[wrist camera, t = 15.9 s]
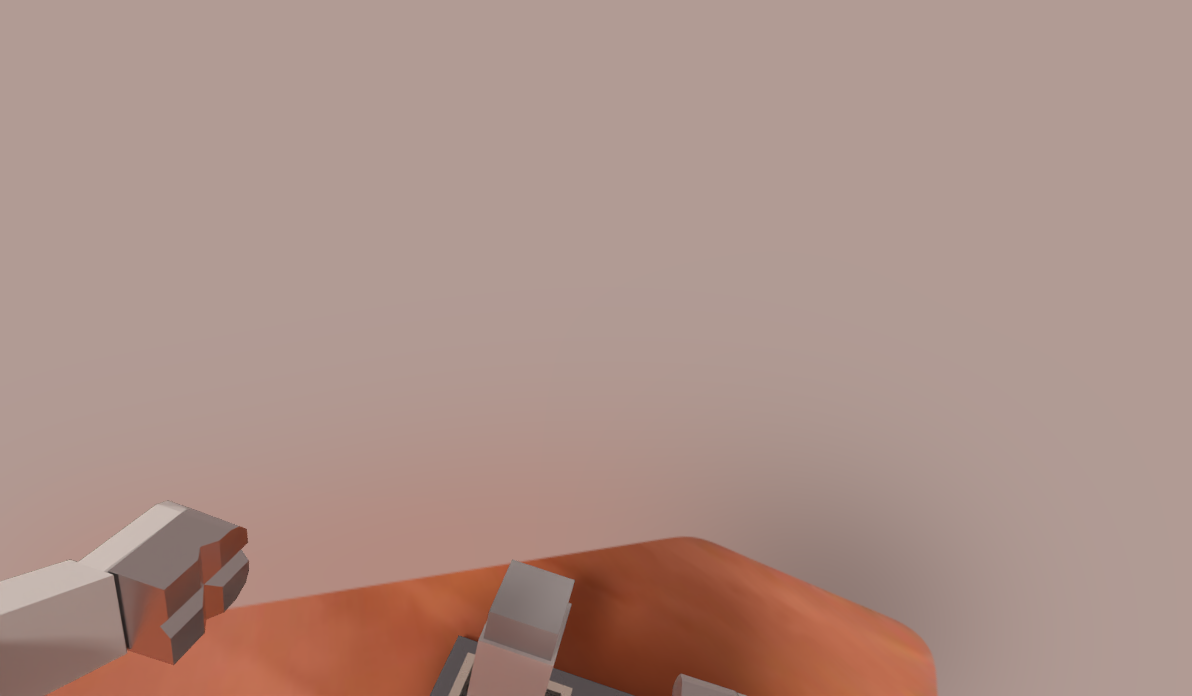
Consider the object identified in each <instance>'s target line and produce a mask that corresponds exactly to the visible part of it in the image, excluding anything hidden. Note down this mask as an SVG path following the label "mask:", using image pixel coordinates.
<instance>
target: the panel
mask: <svg viewBox="0 0 1192 696" xmlns="http://www.w3.org/2000/svg"><path fill="white" fill-rule="evenodd" d="M477 644H478V642H476V641H473V640H470V639H467V638H465V637H462V636H458V638H457V640H456V642H455V644H454V646H453V649H452V651H451V653H450V655H449V657H448V659H447V661H446V663H445V665H444V667H443V669H442V671H441V673H440V676H439V678H438V680H437V682H436V684H435V686H434V688H433V690H432V692H431V694H430V696H467V692H468V687H469V683H470V678H471V673H472V668H473V663H474V658H475V654H476V649H477ZM545 696H634V695H631V694H628V693H625V692H622V691H619V690H616V689H613V688H611V687H608V686H605V685H602V684H599V683H596V682H593V681H590V680H587V679H584V678H581V677H578V676H576V675H573V674H570V673H567V672H564V671H561V670H558V669H555V668H553V669H552V673H551V676H550V679H549V683H548V686H547V690H546V693H545Z"/></svg>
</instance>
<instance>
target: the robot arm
mask: <svg viewBox="0 0 1192 696" xmlns="http://www.w3.org/2000/svg"><path fill="white" fill-rule="evenodd" d="M247 543H248V538H247V529H245V528H243V527H240V526H237V525H235V524H232V523H229V522H226V521H224V520H221V519H218V518H216V517H213V516H210V515H207V514H205V513H202V512H199V511H197V510H194V509H191V508H188V507H186V506H183V505H180V504H177V503H174V502H171V501H165V502H162V503H159V504H156V505H155V506H153V507H152V508H151V509H149V510H148V511H146V512H145V513H144V514H142V515H141V516H140V517H138V518H137V519H136V520H134V521H133V522H132V523H130V524H129V525H127V526H126V527H125V528H123V529H122V530H121V531H119V532H118V533H117V534H115V535H114V536H112V537H111V538H110V539H108V540H107V541H106V542H104V543H103V544H102V545H100V546H99V547H98V548H96V549H95V550H94V551H92V552H91V553H89V554H88V555H87V556H85V557H84V558H83V559H81V560H80V561H79V562H77V561H74V560H67V561H64V562H61V563H57V564H54V565H51V566H48V567H45V568H41V569H38V570H35V571H31V572H28V573H25V574H22V575H19V576H15V577H12V578H9V579H6V580H3V581H0V696H45V695H47V694H49V693H51V692H53V691H55V690H56V689H58V688H60V687H62V686H64V685H66V684H68V683H70V682H72V681H74V680H76V679H78V678H80V677H82V676H84V675H86V674H88V673H90V672H92V671H94V670H96V669H97V668H99V667H101V666H103V665H105V664H107V663H109V662H111V661H113V660H115V659H117V658H119V657H121V656H123V655H125V654H126V653H127V650H129V651H132V652H135V653H138V654H141V655H144V656H147V657H150V658H153V659H156V660H159V661H162V662H166V663H169V664H172V665H174V664H175V663H176V662H177V661H178V660H179V659H180V658H181V657H182V656H183V655H184V654H185V653H186V652H187V651H188V650H189V649H190V648H191V646H192V645H193V644H194V643H195V642H196V641H197V640H198V639H199V638H200V637H201V636H202V635H203V634H204V633H205V626H206V620H207V619H209V618H211V617H214V616H216V615H218V614H221V613H223V612H225V611H226V609H227V608H228V607H229V606H230V605H231V604H232V603H233V601H235V600H236V598H237V596H238V595H239V593H240V591H241V589H242V588H243V586H244V584H245V583H246V579H247V575H248V571H249V561H248V559H247V557H246V556H245V554H244V553H243V551H242V550H241V549H242V548H243V547H244V546H245V545H246V544H247ZM672 696H746V695H743V694H740V693H736V692H735V691H734V690H731V689H728V688H724V687H721V686H718V685H715V684H712V683H709V682H706V681H703V680H699V679H696V678H693V677H690V676H687V675H684V674H680V675H679V676H678V677H677V678H676V681H675V683H674V685H673V690H672Z"/></svg>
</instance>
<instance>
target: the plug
mask: <svg viewBox="0 0 1192 696" xmlns="http://www.w3.org/2000/svg"><path fill="white" fill-rule="evenodd" d="M574 582H575V580H573V579H570V578H567V577H564V576H561V575H558V574H555V573H552V572H549V571H546V570H543V569H540V568H537V567H534V566H530V565H527V564H524V563H521V562H518V561H515V560H512V561H511V564H510V566H509V568H508V570H507V572H506V575H505V577H504V579H503V581H502V584H501V586H500V588H499V590H498V593H497V595H496V597H495V599H494V602H493V604H492V606H491V608H490V611H489V614H488V619H487V622H486V624H485V626H484V629H483V631H482V633H481V635H480V638H479V640H478V644H477V649H476V654H475V658H474V663H473V668H472V673H471V678H470V683H469V687H468V692H467V696H545V693H546V690H547V686H548V683H549V679H550V676H551V673H552V669H553V666H554V663H555V659H556V656H557V652H558V649H559V646H560V642H561V639H562V635H563V632H564V629H565V625H566V622H567V618H568V615H569V612H570V608H571V605H572V604H571V603H568V602H569V599H570V595H571V592H572V589H573V585H574Z"/></svg>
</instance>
